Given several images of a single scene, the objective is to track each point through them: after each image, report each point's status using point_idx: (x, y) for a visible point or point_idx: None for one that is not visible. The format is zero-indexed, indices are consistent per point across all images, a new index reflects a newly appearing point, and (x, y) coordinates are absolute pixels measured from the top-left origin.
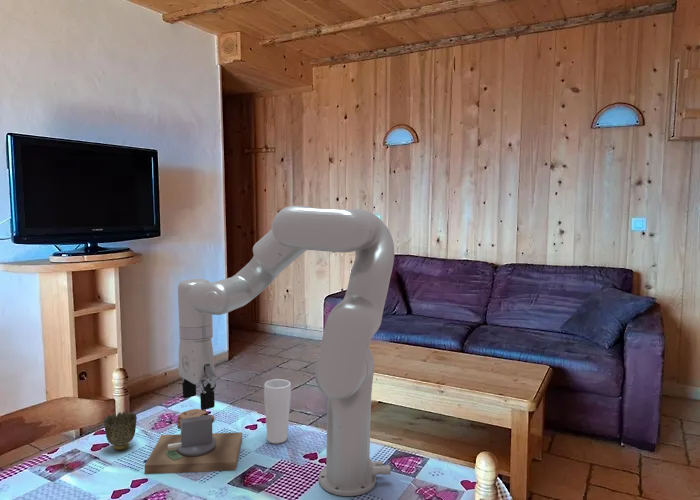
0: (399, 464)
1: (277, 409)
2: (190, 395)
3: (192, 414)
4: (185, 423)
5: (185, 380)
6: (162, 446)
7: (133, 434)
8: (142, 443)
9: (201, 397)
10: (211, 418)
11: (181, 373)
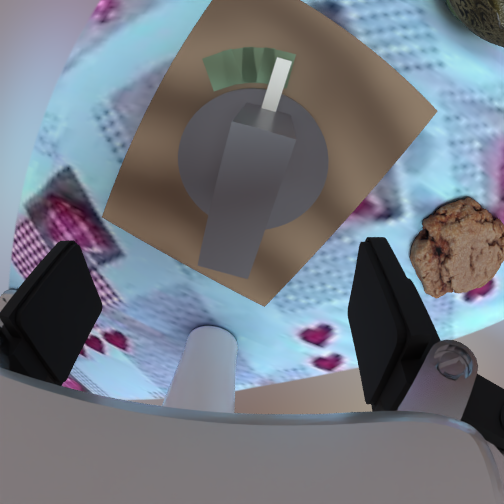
0: None
1: (162, 405)
2: (355, 286)
3: (473, 257)
4: (228, 141)
5: (419, 369)
6: (348, 65)
7: (463, 17)
8: (457, 62)
9: (15, 295)
10: (201, 264)
11: (346, 490)
